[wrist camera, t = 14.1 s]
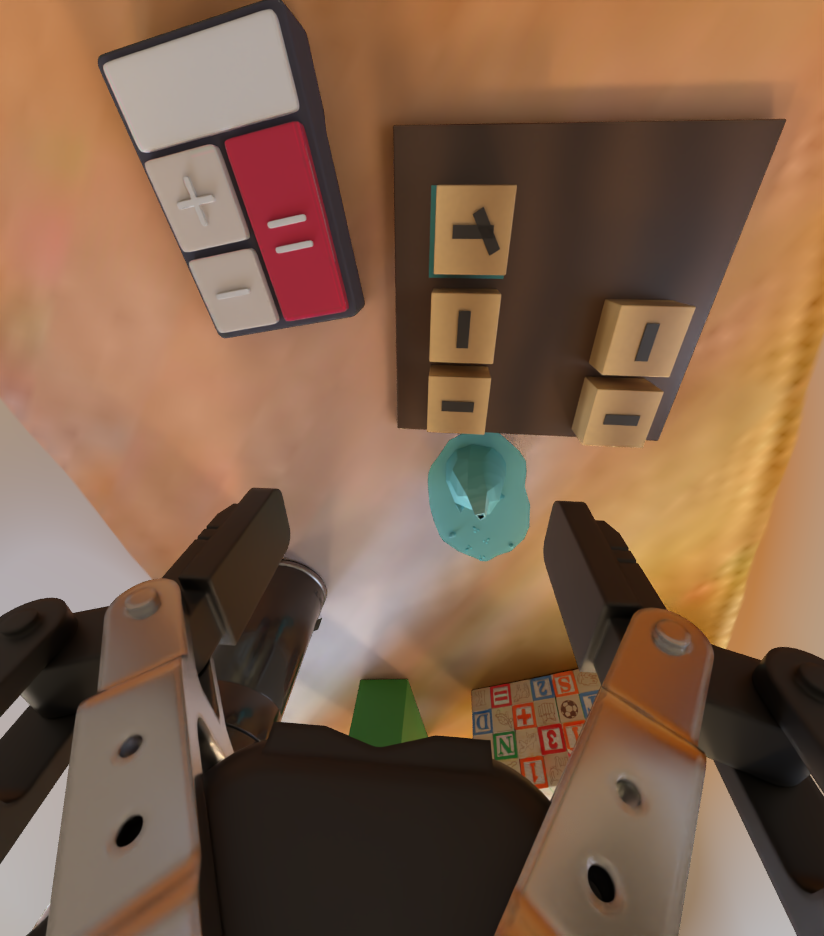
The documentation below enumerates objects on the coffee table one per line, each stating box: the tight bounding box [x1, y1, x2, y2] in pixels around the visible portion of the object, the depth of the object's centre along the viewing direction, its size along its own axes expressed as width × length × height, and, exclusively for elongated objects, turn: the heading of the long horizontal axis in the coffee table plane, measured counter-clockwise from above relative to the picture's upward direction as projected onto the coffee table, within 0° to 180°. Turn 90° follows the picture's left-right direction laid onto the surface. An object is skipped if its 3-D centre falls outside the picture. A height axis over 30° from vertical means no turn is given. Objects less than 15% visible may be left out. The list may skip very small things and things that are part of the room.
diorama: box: [428, 432, 530, 561], centre depth 34 cm, size 12×20×9 cm, turn 10°
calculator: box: [98, 0, 365, 338], centre depth 24 cm, size 11×4×15 cm
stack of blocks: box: [471, 669, 601, 800], centre depth 47 cm, size 21×6×12 cm, turn 121°
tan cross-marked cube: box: [434, 185, 517, 275], centre depth 23 cm, size 4×4×3 cm
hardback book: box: [349, 679, 428, 747], centre depth 50 cm, size 18×7×24 cm, turn 11°
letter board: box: [393, 119, 786, 448], centre depth 25 cm, size 22×20×4 cm
